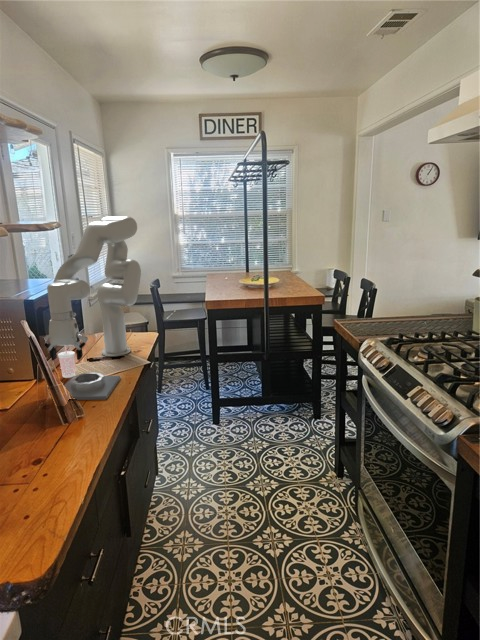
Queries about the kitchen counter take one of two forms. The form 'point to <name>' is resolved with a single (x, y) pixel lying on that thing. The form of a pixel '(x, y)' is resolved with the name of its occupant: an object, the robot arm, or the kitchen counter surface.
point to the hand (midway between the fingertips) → (67, 359)
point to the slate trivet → (96, 394)
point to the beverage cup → (67, 363)
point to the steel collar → (82, 385)
